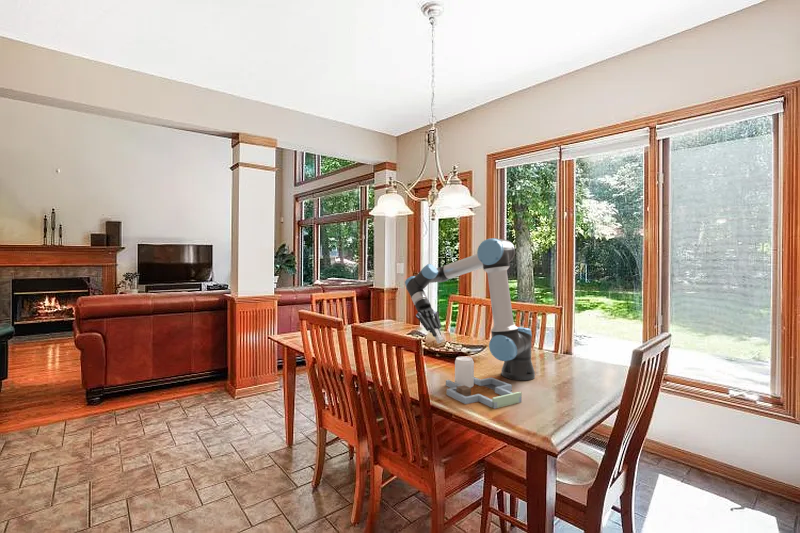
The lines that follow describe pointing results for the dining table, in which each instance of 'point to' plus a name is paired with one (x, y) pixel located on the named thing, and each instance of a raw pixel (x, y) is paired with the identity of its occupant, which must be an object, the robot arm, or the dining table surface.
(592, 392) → the dining table surface
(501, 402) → the end wall
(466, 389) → the walnut cube
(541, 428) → the dining table surface
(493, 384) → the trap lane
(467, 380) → the beverage can
